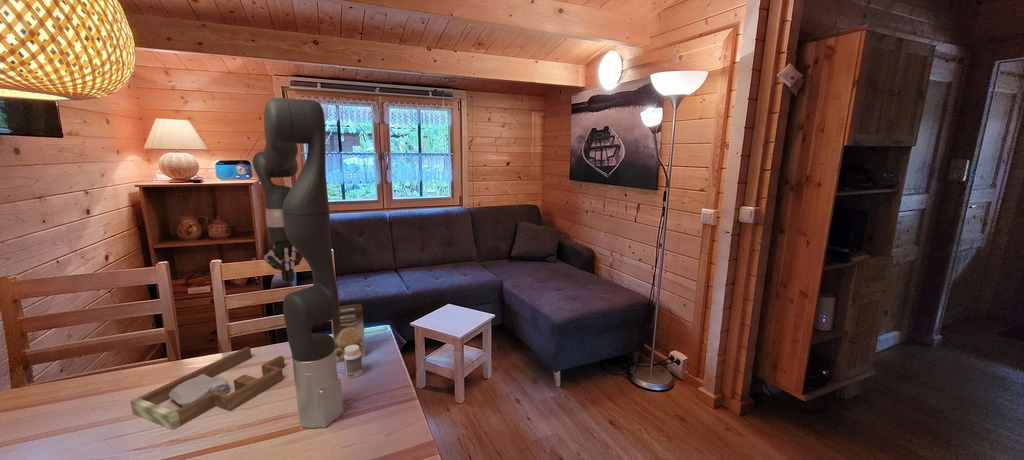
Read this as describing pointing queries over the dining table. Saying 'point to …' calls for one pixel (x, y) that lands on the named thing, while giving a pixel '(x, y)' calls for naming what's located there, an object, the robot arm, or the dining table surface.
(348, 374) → the pill bottle
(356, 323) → the coffee box
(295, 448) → the dining table surface
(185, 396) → the stone block
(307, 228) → the robot arm
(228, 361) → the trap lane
